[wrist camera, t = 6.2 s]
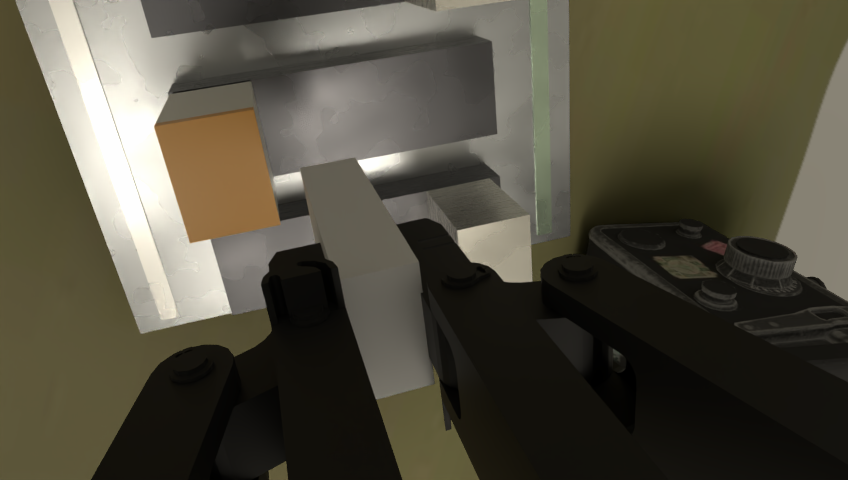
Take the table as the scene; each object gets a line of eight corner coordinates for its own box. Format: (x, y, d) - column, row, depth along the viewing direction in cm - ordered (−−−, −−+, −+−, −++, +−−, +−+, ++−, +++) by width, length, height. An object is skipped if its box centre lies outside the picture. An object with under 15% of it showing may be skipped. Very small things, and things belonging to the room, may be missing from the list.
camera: (696, 338, 42) (904, 515, 29) (554, 353, 39) (712, 556, 26) (738, 193, 38) (1004, 322, 25) (582, 197, 35) (787, 345, 22)
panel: (146, 312, 31) (116, 425, 24) (-3, -97, 23) (-119, -120, 16) (553, 221, 35) (638, 294, 28) (546, -152, 27) (662, -192, 20)
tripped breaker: (198, 193, 25) (190, 243, 21) (169, 94, 23) (153, 126, 19) (273, 179, 26) (280, 224, 21) (251, 81, 24) (253, 109, 20)
